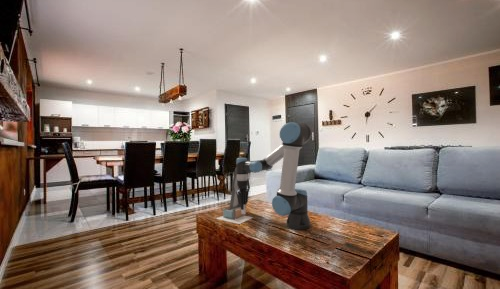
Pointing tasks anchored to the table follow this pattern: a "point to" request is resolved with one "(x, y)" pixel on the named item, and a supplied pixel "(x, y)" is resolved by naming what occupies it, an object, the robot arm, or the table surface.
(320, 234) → the table surface
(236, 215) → the fence panel
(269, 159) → the robot arm
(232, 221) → the card
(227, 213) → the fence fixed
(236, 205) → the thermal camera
